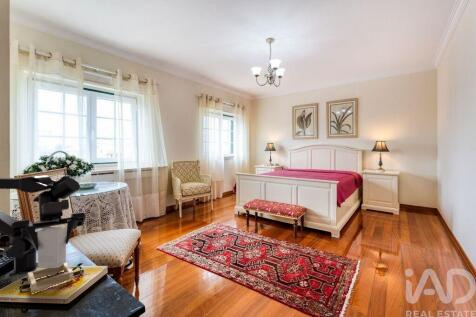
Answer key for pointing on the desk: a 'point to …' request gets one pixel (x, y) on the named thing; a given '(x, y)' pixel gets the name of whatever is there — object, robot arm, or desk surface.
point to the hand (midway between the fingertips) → (52, 246)
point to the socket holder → (49, 281)
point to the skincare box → (51, 247)
